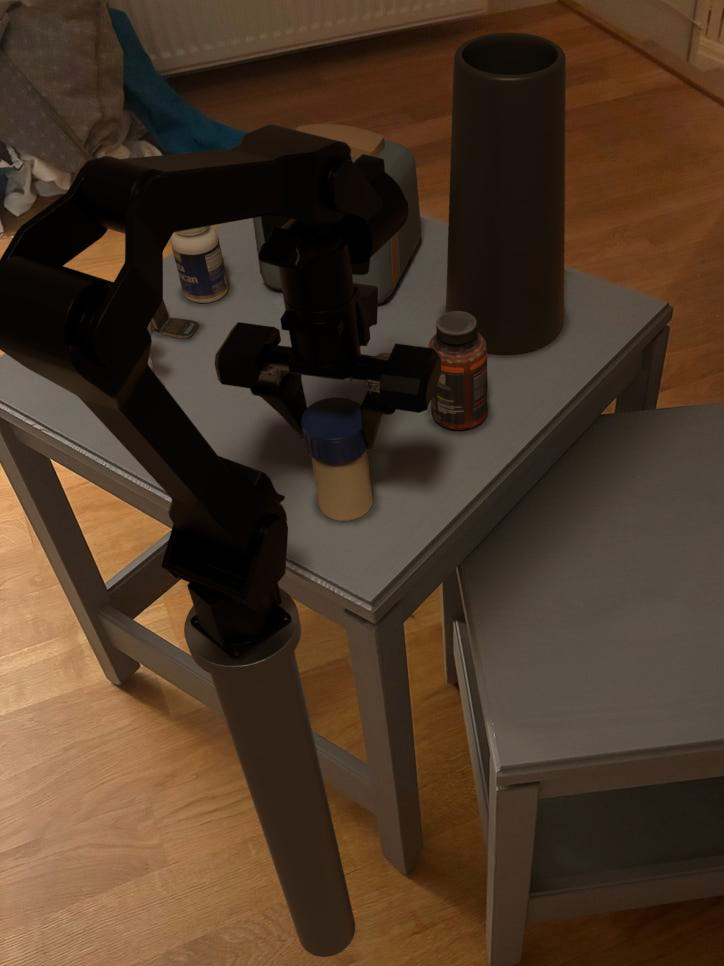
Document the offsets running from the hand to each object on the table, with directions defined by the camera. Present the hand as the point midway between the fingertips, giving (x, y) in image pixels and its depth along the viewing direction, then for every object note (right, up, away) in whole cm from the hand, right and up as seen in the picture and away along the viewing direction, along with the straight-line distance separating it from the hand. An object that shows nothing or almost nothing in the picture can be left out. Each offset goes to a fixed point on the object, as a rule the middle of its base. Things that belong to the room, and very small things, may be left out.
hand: (339, 442), depth 96 cm
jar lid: (0, 0, 0) cm, 0 cm away
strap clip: (-24, +18, +24) cm, 38 cm away
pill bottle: (-20, +23, +29) cm, 42 cm away
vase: (+16, +19, +25) cm, 35 cm away
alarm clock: (-4, +28, +32) cm, 42 cm away
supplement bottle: (+11, +5, +14) cm, 19 cm away
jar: (0, -5, +6) cm, 7 cm away
